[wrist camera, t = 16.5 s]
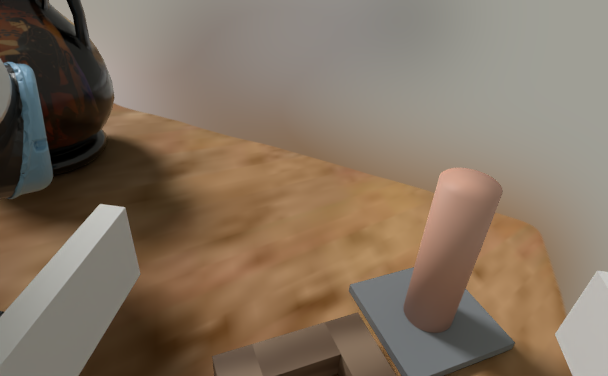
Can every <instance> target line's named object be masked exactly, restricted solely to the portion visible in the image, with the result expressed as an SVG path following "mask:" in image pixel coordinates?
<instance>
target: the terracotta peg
mask: <svg viewBox="0 0 608 376" xmlns="http://www.w3.org/2000/svg"><path fill="white" fill-rule="evenodd" d="M502 192H503V191H502V187H501V185H500V184H499V183H498V182H497V181H496V180H495V179H494V178H492V177H490V176H489V175H486V174H485V173H482V172H479V171H476V170H472V169H467V168H451V169H447V170H445V171H443V172H442V173H441V174H440V176H439V179H438V183H437V187H436V190H435V194H434V197H433V201H432V205H431V208H430V212H429V216H428V219H427V223H426V226H425V230H424V234H423V237H422V241H421V244H420V248H419V252H418V255H417V259H416V263H415V266H414V270H413V273H412V277H411V281H410V284H409V288H408V291H407V295H406V299H405V302H404V313H405V316H406V317H407V319H408V320H409V321H410V322H411V323H412V324H413V325H414V326H415V327H417V328H419V329H421V330H423V331H426V332H430V333H439V332H443V331H446V330H447V329H448V328H449V327H450V326H451V324H452V322H453V320H454V317H455V314H456V312H457V309H458V307H459V304H460V301H461V299H462V296H463V294H464V291H465V288H466V286H467V283H468V281H469V278H470V276H471V273H472V270H473V268H474V265H475V263H476V260H477V257H478V255H479V252H480V250H481V247H482V245H483V242H484V239H485V237H486V234H487V232H488V229H489V226H490V224H491V221H492V219H493V216H494V214H495V211H496V208H497V206H498V203H499V201H500V198H501V195H502Z"/></svg>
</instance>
